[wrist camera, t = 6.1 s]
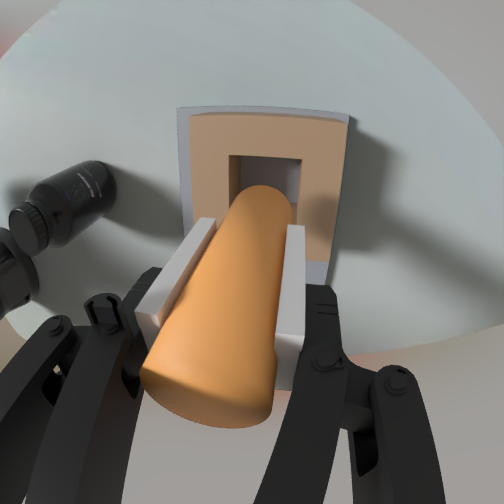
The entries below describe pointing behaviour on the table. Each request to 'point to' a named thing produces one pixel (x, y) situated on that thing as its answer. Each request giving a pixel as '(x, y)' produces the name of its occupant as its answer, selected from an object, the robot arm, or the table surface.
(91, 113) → the table surface
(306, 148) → the socket board
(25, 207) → the supplement bottle
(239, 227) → the peg
